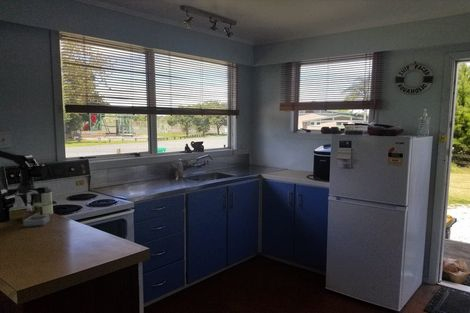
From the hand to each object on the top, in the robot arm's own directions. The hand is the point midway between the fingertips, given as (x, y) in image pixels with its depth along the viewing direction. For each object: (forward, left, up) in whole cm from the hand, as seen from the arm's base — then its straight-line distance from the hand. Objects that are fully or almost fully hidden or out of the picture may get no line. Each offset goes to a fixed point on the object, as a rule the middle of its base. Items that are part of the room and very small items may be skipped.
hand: (29, 206), depth 188 cm
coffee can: (-14, +2, -8) cm, 16 cm away
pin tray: (+8, +6, -8) cm, 13 cm away
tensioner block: (-2, 0, -8) cm, 8 cm away
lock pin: (0, 0, -4) cm, 4 cm away
